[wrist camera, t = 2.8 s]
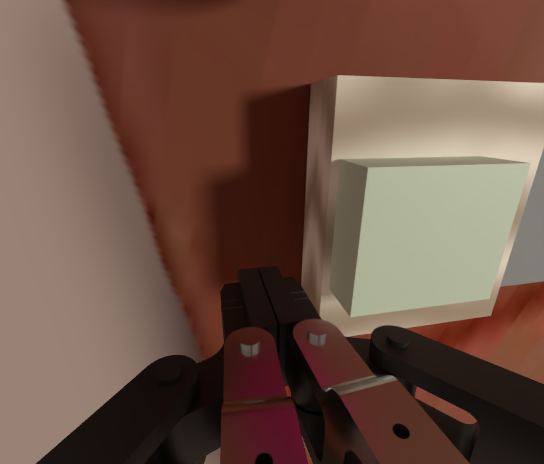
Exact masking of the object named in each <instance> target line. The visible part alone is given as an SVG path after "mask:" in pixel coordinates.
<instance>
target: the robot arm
mask: <svg viewBox="0 0 544 464" xmlns="http://www.w3.org/2000/svg"><path fill="white" fill-rule="evenodd" d="M237 276H238V283H230V284H225V285H224V287H223V288H222V290H221V291H220V296H221V312H222V328H223V338H224V344H223V346H222V348H221V349H220V350H219V351H218V353H216V354H215V355H214V356H212V357H210V358H209V359H206V360H204V361H202V362H199V363H196V362H195V361H194V360H193V359H191V358H190V357H187V356H183V355H171V356H166V357H163V358H160V359H158V360H156V361H154V362H153V363H151V364H150V365H149V366H147V367H146V368H145V369H144V370H143V371H142V372H141V373H139V374H138V375H137V376H136V377H135V378H134V379H132V380H131V381H130V382H129V383H128V384H127V385H126V386H124V387H123V388H122V389H121V390H120V391H119V392H118V393H116V394H115V395H114V396H113V397H112V398H111V399H109V401H107V402H106V403H105V404H104V405H103V406H102V407H100V408H99V409H98V410H97V411H96V412H95V413H94V414H92V415H91V416H90V417H89V418H88V419H87V420H85V422H83V423H82V424H81V425H80V426H79V427H77V429H75V430H74V431H73V432H72V433H71V434H69V435H68V436H67V437H66V438H65V439H64V440H62V441H61V442H60V443H59V444H58V445H57V446H56V447H55V448H54V449H52V450H51V451H50V452H49V453H48V454H46V455H45V456H44V457H43V458H42V459H41V460H40V461H38V462H37V463H36V464H204V461H205V458H206V455H208V454H209V453H211V452H213V451H215V450H216V449H218V448H220V447H221V456H220V464H308V461H307V457H306V453H305V448H304V444H303V441H304V443H305V446H306V448H307V451H308V453H309V456H310V458H311V461H312V463H313V464H544V384H542V383H539V382H537V381H534V380H532V379H529V378H527V377H524V376H522V375H519V374H517V373H514V372H512V371H509V370H507V369H504V368H502V367H499V366H497V365H494V364H492V363H490V362H487V361H485V360H482V359H480V358H477V357H475V356H472V355H470V354H467V353H465V352H462V351H460V350H457V349H455V348H452V347H450V346H447V345H445V344H442V343H440V342H437V341H435V340H432V339H430V338H427V337H425V336H422V335H420V334H417V333H415V332H412V331H410V330H407V329H405V328H402V327H398V326H393V325H384V326H380V327H377V328H375V329H374V330H373V332H372V334H371V339H361V338H351V337H346V336H344V335H343V334H342V333H341V331H340V330H339V329H338V328H337V327H336V326H335V325H334V324H332V323H330V322H328V321H325V320H322V319H321V317H320V315H319V314H318V312H317V310H316V309H315V307H314V306H313V304H312V302H311V301H310V299H309V297H308V296H307V294H306V293H305V291H304V289H303V287H302V286H301V284H300V283H299V282H297V281H296V280H294V279H293V278H291V277H288V278H282V276H281V274H280V272H279V270H278V268H277V266H273V267H262V268H258V269H257V268H252V269H241V270H238V272H237ZM287 385H288V386H289V389H290V392H291V397H287V395H286V390H285V386H287ZM417 386H418V387H420V388H422V389H424V390H426V391H428V392H430V393H432V394H434V395H436V396H437V397H439V398H441V399H443V400H445V401H447V402H449V403H451V404H453V405H455V406H457V407H459V408H461V409H463V410H465V411H467V412H469V413H470V414H471V415H472V416H474V418H475V419H476V420H477V422H476V423H474V424H465V423H462V422H460V421H458V420H456V419H454V418H452V417H450V416H448V415H446V414H444V413H443V412H441V411H439V410H437V409H435V408H433V407H431V406H429V405H427V404H425V403H424V402H422V401H420V400H418V399H416V398H414V397H415V392H416V388H417ZM302 438H303V440H302Z"/></svg>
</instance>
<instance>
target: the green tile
mask: <svg viewBox="0 0 544 464" xmlns="http://www.w3.org/2000/svg"><path fill="white" fill-rule="evenodd" d="M530 165H531V163H527V162H519V161H512V160H505V159H498V158H491V157H484V156H461V157H413V158H365V159H340V166H339V178H338V190H337V202H336V213H335V225H334V237H333V248H332V260H331V272H330V283H329V289H330V291H331V292H332V293H333V295H334V296H335V297H336V299H337V300H338V301H339V303H340V304H341V305H342V307H343V308H344V310H345V311H346V312H347V314H348V315H349V316H350V317H357V316H365V315H372V314H380V313H387V312H395V311H402V310H410V309H417V308H425V307H432V306H440V305H447V304H455V303H462V302H470V301H477V300H485V299H490V296H491V292H492V289H493V286H494V282H495V279H496V276H497V273H498V269H499V266H500V263H501V260H502V256H503V253H504V250H505V247H506V243H507V240H508V237H509V233H510V230H511V227H512V224H513V220H514V217H515V214H516V211H517V207H518V204H519V201H520V198H521V194H522V191H523V188H524V184H525V181H526V178H527V175H528V171H529V168H530Z"/></svg>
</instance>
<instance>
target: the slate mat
mask: <svg viewBox="0 0 544 464" xmlns="http://www.w3.org/2000/svg"><path fill="white" fill-rule="evenodd" d="M541 281H544V149H543V152H542V155H541V158H540V161H539V164H538V168H537V171H536V174H535V177H534V180H533V183H532V187H531V190H530V193H529V196H528V199H527V202H526V206H525V209H524V212H523V215H522V218H521V222H520V225H519V228H518V231H517V234H516V237H515V241H514V244H513V247H512V250H511V253H510V256H509V260H508V263H507V266H506V269H505V272H504V275H503V279H502V282H501V285H500V287H501V286H509V285H517V284H525V283H533V282H541Z"/></svg>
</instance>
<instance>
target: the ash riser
mask: <svg viewBox="0 0 544 464" xmlns="http://www.w3.org/2000/svg"><path fill="white" fill-rule="evenodd" d="M543 149H544V83H526V82H500V81H474V80H448V79H421V78H395V77H369V76H343V75H337V76H334V77H331V78H327V79H324V80H321V81H318V82H314V83H311V90H310V111H309V132H308V153H307V174H306V195H305V216H304V237H303V258H302V278H301V286H302V287H303V289H304V291H305V293H306V294H307V296H308V297H309V299H310V301H311V302H312V304H313V306H314V307H315V309H316V310H317V312H318V314H319V315H320V317H321V319H322V320H325V321H328V322H330V323H332V324H334V325H335V326H336V327H337V328H338V329H339V330H340V331H341V333H342V334H343V335H344V336H346V337H348V336H355V335H362V334H368V333H372V332H373V330H374V329H375V328H377V327H380V326H384V325H393V326H398V327H402V328H409V327H416V326H423V325H430V324H437V323H443V322H450V321H457V320H464V319H471V318H477V317H484V316H491V314H492V310H493V307H494V304H495V301H496V298H497V295H498V291H499V288H500V285H501V282H502V279H503V275H504V272H505V269H506V266H507V263H508V260H509V256H510V253H511V250H512V247H513V244H514V241H515V237H516V234H517V231H518V228H519V225H520V222H521V218H522V215H523V212H524V209H525V206H526V202H527V199H528V196H529V193H530V190H531V187H532V183H533V180H534V177H535V174H536V171H537V168H538V164H539V161H540V158H541V155H542V152H543ZM461 156H484V157H491V158H498V159H505V160H512V161H519V162H527V163H531V165H530V168H529V171H528V175H527V178H526V181H525V184H524V188H523V191H522V194H521V198H520V201H519V204H518V207H517V211H516V214H515V217H514V220H513V224H512V227H511V230H510V233H509V237H508V240H507V243H506V247H505V250H504V253H503V256H502V260H501V263H500V266H499V269H498V273H497V276H496V279H495V282H494V286H493V289H492V292H491V296H490V299H485V300H477V301H470V302H462V303H455V304H447V305H440V306H432V307H425V308H417V309H410V310H402V311H395V312H387V313H380V314H372V315H365V316H357V317H350V316H349V315H348V314H347V312H346V311H345V310H344V308H343V307H342V305H341V304H340V303H339V301H338V300H337V299H336V297H335V296H334V295H333V293H332V292H331V291H330V289H329V283H330V272H331V260H332V248H333V237H334V225H335V213H336V202H337V190H338V178H339V166H340V159H365V158H413V157H461Z"/></svg>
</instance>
